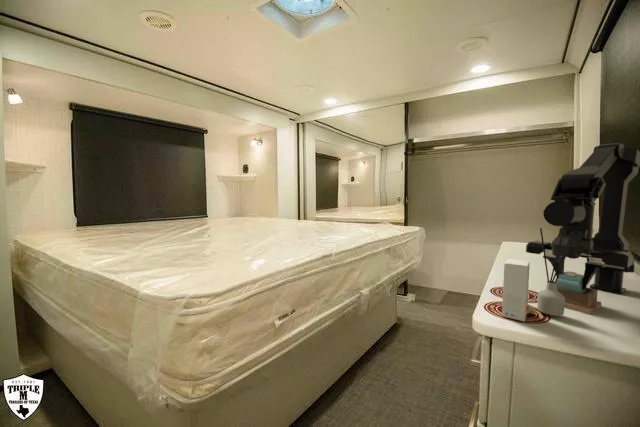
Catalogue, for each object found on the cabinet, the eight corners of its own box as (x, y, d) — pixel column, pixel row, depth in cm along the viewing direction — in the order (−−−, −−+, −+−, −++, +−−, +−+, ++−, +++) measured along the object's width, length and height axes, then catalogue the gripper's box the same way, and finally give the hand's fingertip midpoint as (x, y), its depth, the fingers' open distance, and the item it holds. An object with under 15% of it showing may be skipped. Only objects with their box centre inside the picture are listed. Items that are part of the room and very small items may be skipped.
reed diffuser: (558, 309, 65) (564, 225, 64) (588, 323, 58) (596, 229, 57) (517, 310, 65) (522, 225, 63) (542, 323, 58) (549, 228, 56)
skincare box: (525, 322, 58) (527, 266, 57) (501, 316, 61) (503, 263, 60) (527, 313, 63) (530, 261, 62) (505, 308, 66) (507, 258, 65)
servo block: (567, 287, 73) (568, 267, 73) (587, 291, 70) (589, 271, 69) (554, 293, 68) (556, 272, 68) (576, 298, 65) (578, 276, 65)
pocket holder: (554, 294, 76) (555, 280, 75) (601, 306, 68) (602, 290, 68) (541, 301, 71) (542, 285, 70) (590, 314, 63) (591, 297, 63)
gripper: (518, 222, 71) (514, 281, 72) (624, 230, 56) (618, 306, 57) (536, 220, 77) (532, 275, 78) (636, 227, 62) (630, 296, 63)
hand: (571, 286), depth 69 cm, fingers closed on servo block, 4 cm apart
